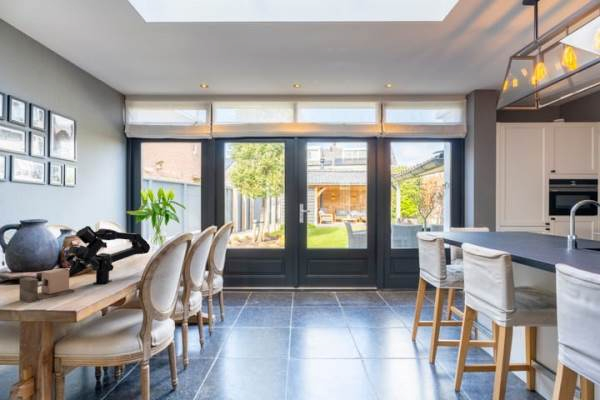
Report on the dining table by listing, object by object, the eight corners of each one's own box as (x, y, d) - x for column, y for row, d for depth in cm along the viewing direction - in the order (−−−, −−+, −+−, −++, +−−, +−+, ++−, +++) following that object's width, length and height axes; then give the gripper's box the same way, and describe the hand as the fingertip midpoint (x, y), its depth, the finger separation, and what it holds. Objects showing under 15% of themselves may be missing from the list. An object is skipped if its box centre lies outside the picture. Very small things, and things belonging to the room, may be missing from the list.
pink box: (60, 287, 154) (60, 268, 154) (68, 289, 152) (69, 269, 152) (41, 292, 147) (41, 271, 147) (49, 293, 145) (50, 273, 145)
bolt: (46, 284, 147) (46, 279, 147) (49, 284, 146) (49, 280, 146) (30, 287, 141) (30, 282, 141) (33, 288, 141) (33, 283, 141)
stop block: (61, 289, 156) (62, 270, 156) (74, 292, 153) (74, 272, 153) (18, 299, 140) (18, 278, 140) (30, 302, 137) (31, 280, 137)
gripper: (67, 237, 163) (42, 264, 153) (93, 240, 156) (68, 268, 146) (83, 251, 170) (60, 277, 160) (108, 255, 163) (86, 282, 153)
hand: (68, 276), depth 155 cm, fingers closed
